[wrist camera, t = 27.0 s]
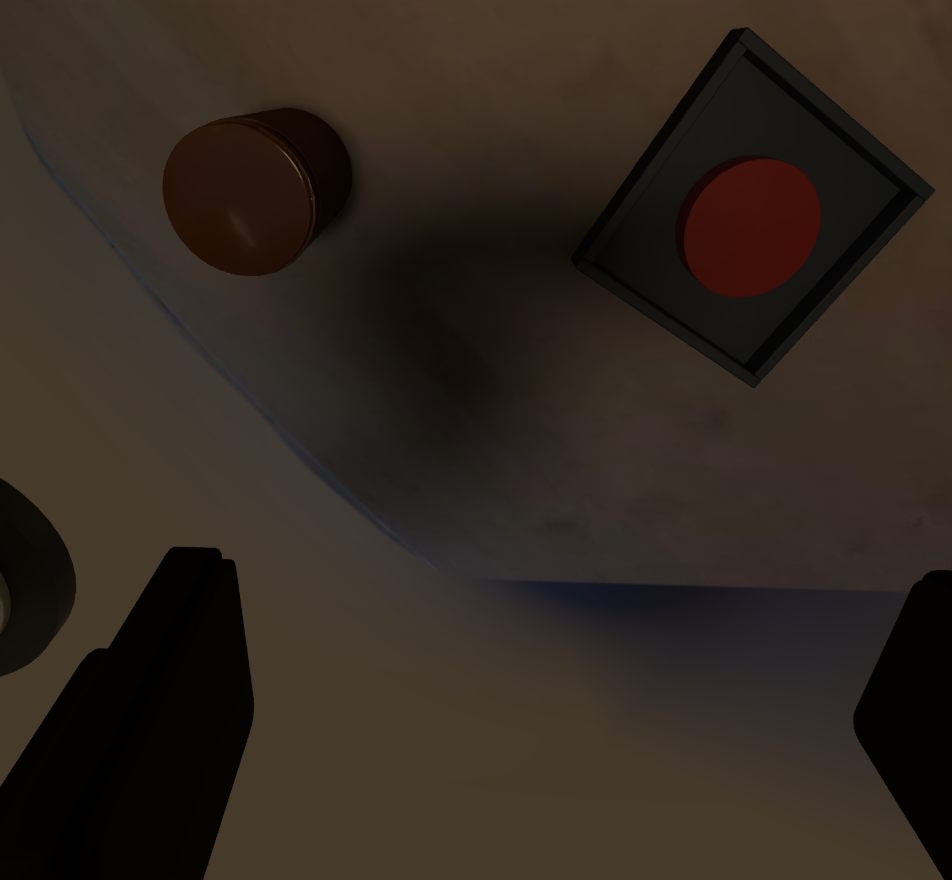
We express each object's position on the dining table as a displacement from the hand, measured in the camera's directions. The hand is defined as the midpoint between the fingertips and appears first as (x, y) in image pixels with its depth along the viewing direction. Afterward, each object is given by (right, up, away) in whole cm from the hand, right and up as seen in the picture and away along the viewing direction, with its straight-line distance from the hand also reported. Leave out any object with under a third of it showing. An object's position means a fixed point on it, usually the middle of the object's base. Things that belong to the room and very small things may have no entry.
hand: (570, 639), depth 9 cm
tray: (+12, +14, +25) cm, 31 cm away
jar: (-10, +16, +24) cm, 30 cm away
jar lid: (+12, +13, +23) cm, 29 cm away
